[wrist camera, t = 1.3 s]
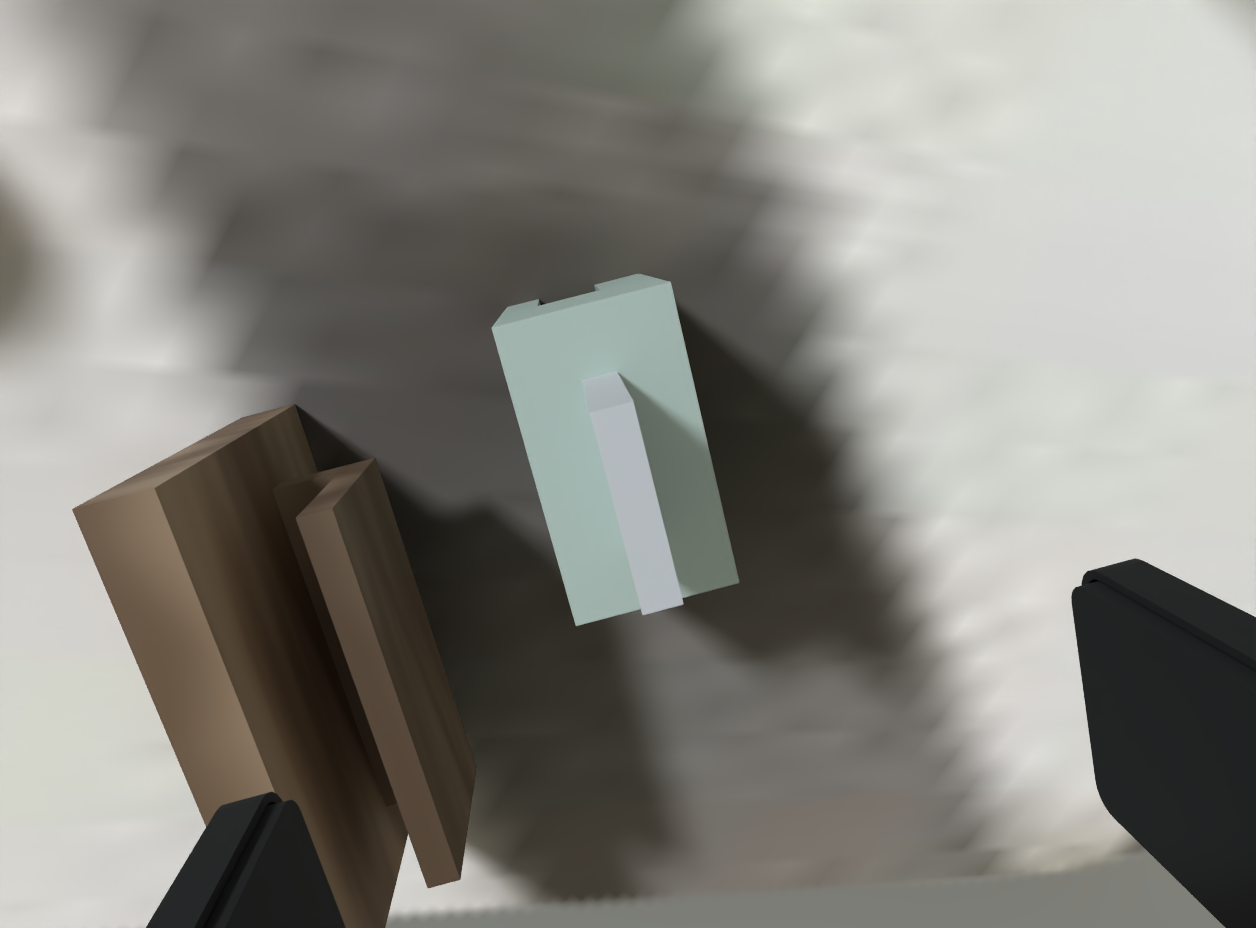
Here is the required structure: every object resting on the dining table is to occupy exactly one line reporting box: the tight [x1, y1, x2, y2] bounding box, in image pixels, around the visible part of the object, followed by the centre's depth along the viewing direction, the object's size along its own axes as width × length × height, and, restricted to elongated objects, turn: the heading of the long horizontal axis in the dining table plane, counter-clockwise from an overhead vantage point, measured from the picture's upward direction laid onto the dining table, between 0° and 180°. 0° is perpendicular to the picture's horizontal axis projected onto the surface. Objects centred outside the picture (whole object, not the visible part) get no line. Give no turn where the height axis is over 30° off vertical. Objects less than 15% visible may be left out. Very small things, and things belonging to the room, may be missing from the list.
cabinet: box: [492, 274, 739, 626], centre depth 27 cm, size 5×9×14 cm, turn 14°
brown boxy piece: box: [72, 404, 476, 928], centre depth 29 cm, size 11×16×12 cm
